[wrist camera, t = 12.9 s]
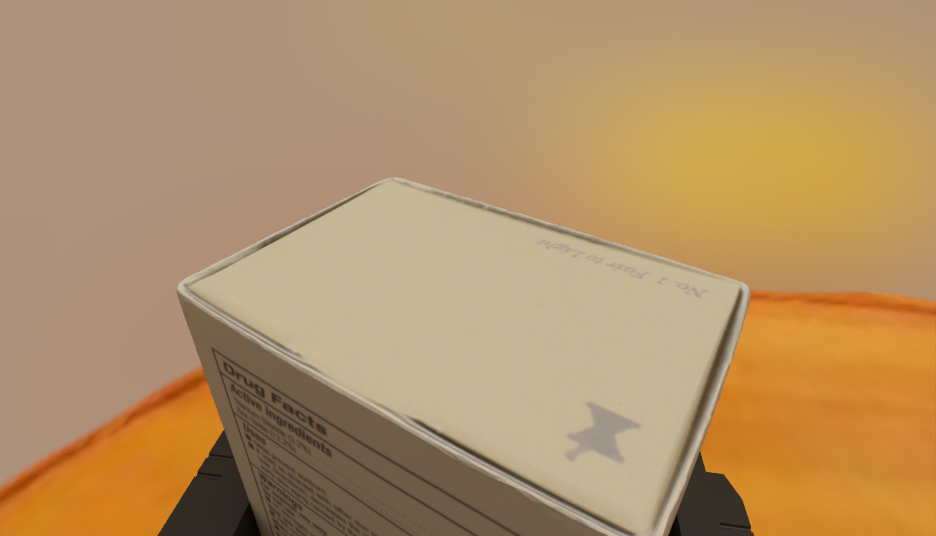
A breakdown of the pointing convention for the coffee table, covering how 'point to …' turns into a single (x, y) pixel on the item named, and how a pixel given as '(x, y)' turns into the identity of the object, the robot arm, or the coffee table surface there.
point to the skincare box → (460, 371)
